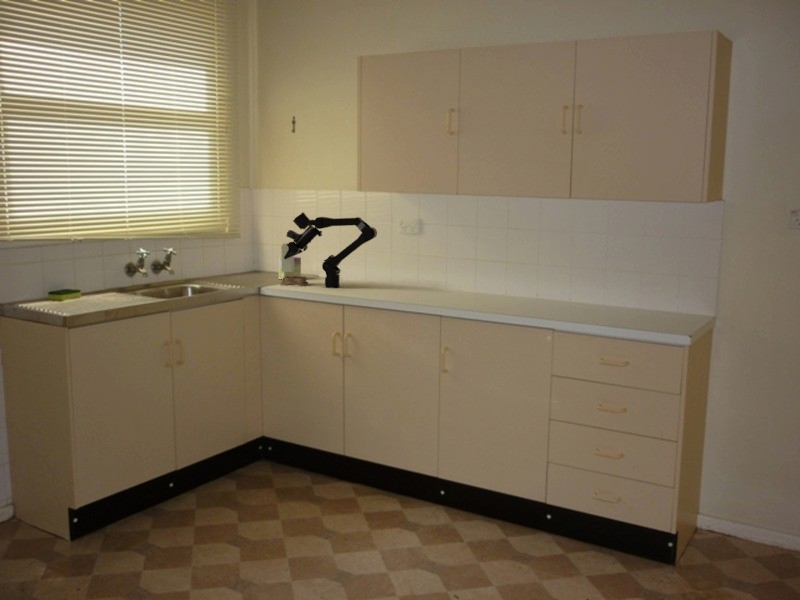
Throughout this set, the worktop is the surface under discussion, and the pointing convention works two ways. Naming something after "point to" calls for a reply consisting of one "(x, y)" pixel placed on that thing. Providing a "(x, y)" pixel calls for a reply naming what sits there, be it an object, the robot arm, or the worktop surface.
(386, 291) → the worktop surface
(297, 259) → the box
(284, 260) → the tin
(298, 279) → the brown wooden frame
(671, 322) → the worktop surface
